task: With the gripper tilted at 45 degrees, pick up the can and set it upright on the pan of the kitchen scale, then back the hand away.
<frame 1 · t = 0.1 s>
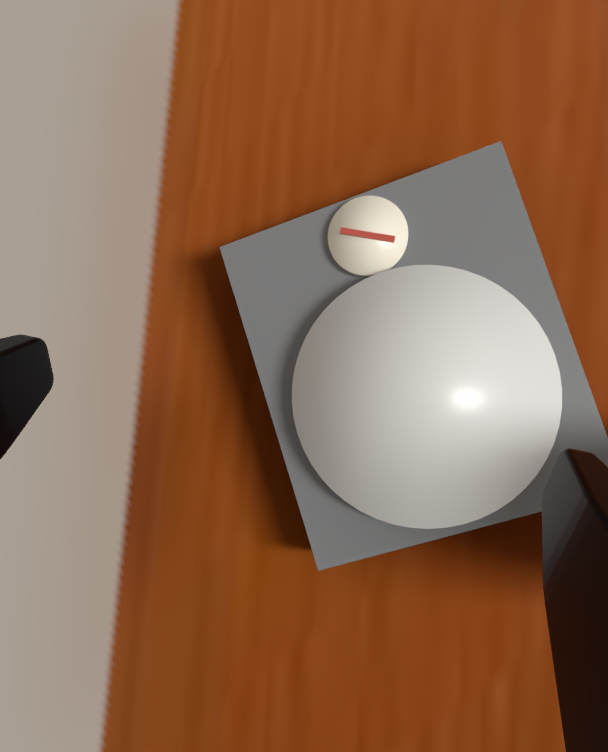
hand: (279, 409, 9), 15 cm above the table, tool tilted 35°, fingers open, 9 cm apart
scale: (406, 362, 23), on the table
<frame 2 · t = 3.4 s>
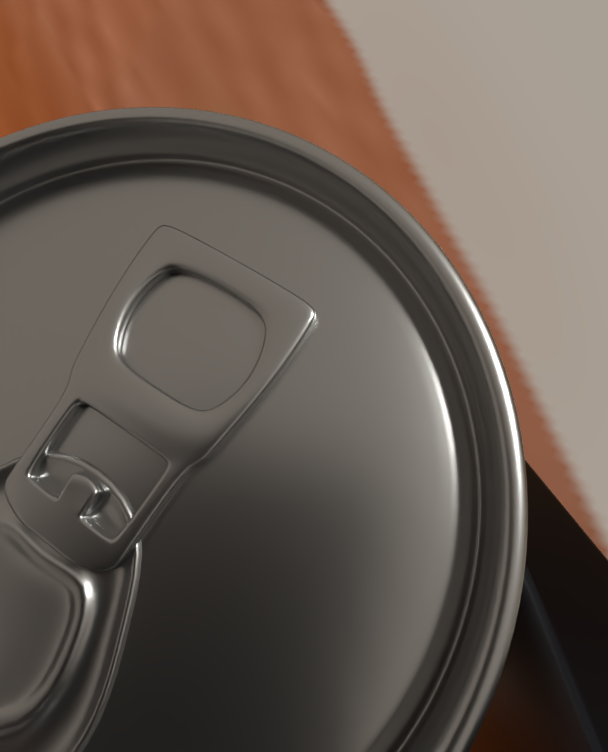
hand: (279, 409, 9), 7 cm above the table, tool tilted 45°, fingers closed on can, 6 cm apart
can: (305, 496, 15), on the table, touching gripper
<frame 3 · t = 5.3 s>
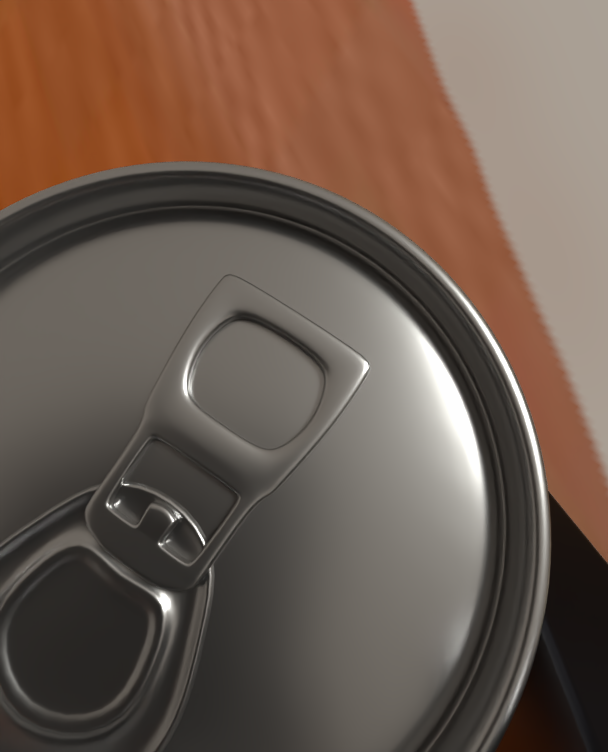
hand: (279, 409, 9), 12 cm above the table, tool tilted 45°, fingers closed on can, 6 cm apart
can: (277, 485, 16), point 5 cm above the table, touching gripper
when the fingers open (11 cm above the table, at t = 6.8 s): can stays where it is, resting on scale.
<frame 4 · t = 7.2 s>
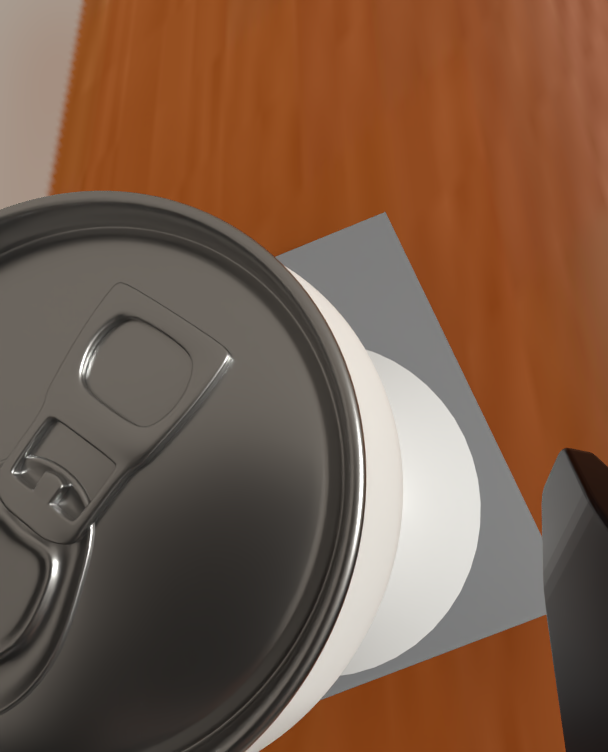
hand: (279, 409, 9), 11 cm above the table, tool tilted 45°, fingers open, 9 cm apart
can: (279, 493, 16), point 3 cm above the table, touching scale
scale: (307, 459, 20), on the table
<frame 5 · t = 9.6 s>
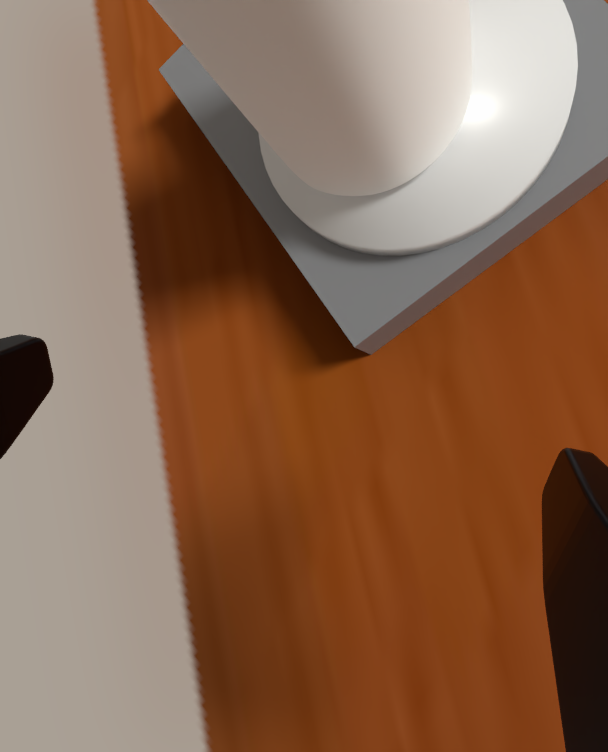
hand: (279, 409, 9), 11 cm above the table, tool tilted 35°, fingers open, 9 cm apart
can: (370, 107, 17), point 3 cm above the table, touching scale
scale: (393, 116, 20), on the table
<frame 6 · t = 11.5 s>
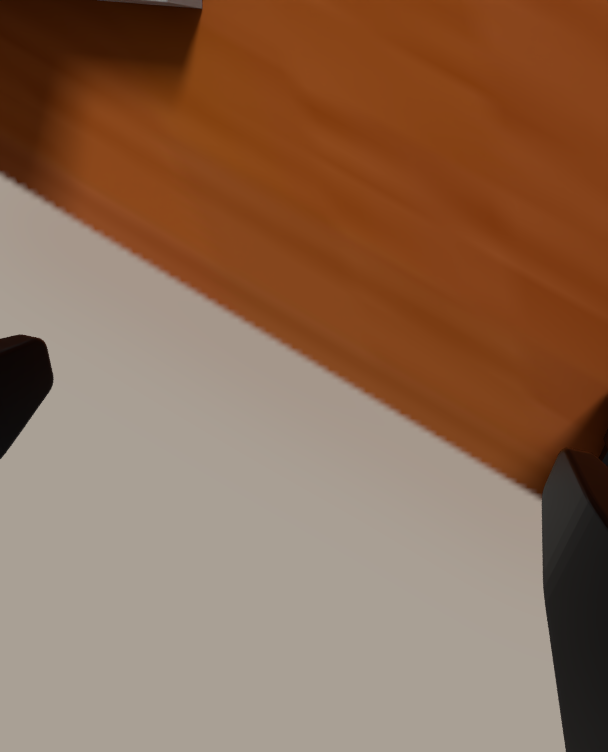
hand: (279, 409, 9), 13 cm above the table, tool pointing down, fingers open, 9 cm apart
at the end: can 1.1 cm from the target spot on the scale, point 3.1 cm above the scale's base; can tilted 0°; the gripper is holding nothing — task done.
